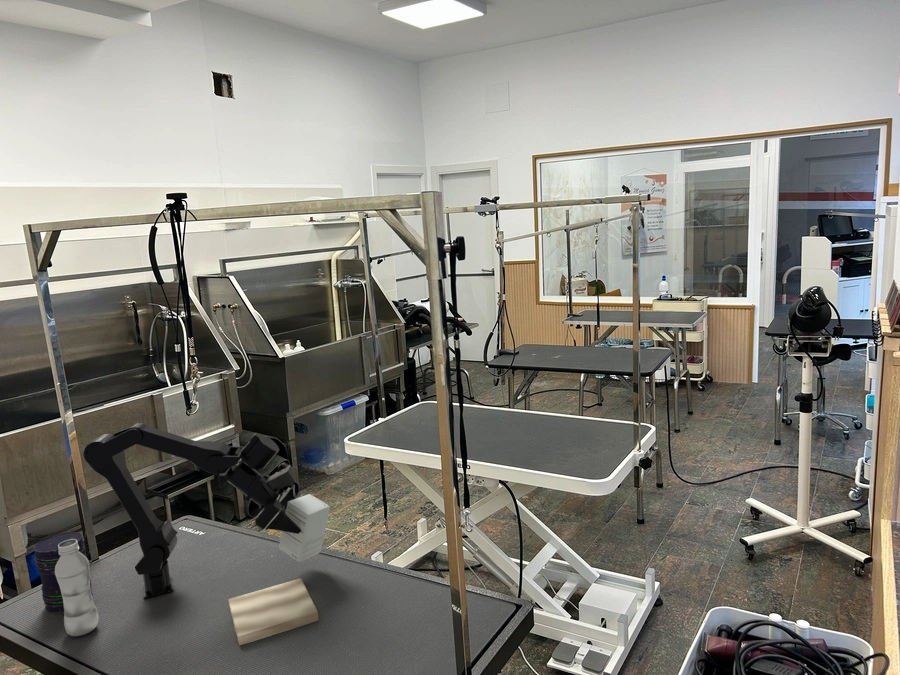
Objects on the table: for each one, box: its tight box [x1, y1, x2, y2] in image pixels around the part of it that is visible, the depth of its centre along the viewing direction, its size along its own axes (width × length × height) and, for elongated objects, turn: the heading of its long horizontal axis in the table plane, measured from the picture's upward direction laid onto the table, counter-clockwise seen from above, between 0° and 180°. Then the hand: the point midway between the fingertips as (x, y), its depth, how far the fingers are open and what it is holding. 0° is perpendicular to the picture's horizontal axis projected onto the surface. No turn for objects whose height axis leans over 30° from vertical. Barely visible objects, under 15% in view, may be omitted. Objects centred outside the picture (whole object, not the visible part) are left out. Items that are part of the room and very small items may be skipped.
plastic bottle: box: [55, 539, 99, 637], centre depth 139 cm, size 6×7×20 cm
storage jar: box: [33, 531, 94, 615], centre depth 152 cm, size 10×10×15 cm
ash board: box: [227, 578, 319, 646], centre depth 141 cm, size 16×16×2 cm
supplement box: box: [278, 493, 331, 563], centre depth 156 cm, size 7×7×13 cm
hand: (303, 523), depth 157 cm, fingers closed on supplement box, 9 cm apart
